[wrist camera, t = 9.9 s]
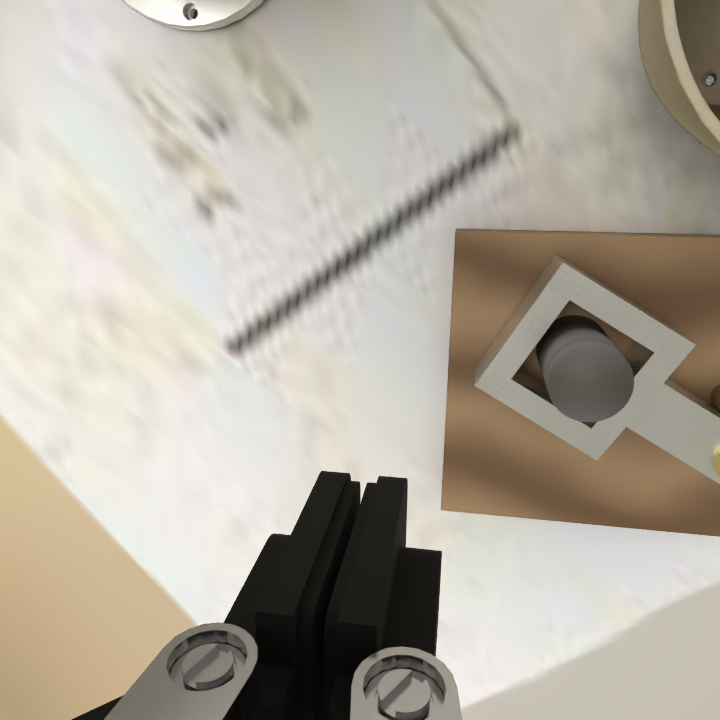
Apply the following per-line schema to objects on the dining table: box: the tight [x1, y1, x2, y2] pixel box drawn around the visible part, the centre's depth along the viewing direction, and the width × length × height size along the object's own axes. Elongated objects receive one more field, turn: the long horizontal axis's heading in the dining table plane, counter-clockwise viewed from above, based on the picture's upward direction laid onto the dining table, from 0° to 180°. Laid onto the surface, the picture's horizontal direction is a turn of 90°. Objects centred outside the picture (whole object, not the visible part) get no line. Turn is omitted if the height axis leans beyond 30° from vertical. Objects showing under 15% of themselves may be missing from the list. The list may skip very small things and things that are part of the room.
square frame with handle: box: [474, 254, 720, 484], centre depth 34 cm, size 15×8×4 cm, turn 60°
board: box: [441, 229, 720, 536], centre depth 34 cm, size 18×18×8 cm
